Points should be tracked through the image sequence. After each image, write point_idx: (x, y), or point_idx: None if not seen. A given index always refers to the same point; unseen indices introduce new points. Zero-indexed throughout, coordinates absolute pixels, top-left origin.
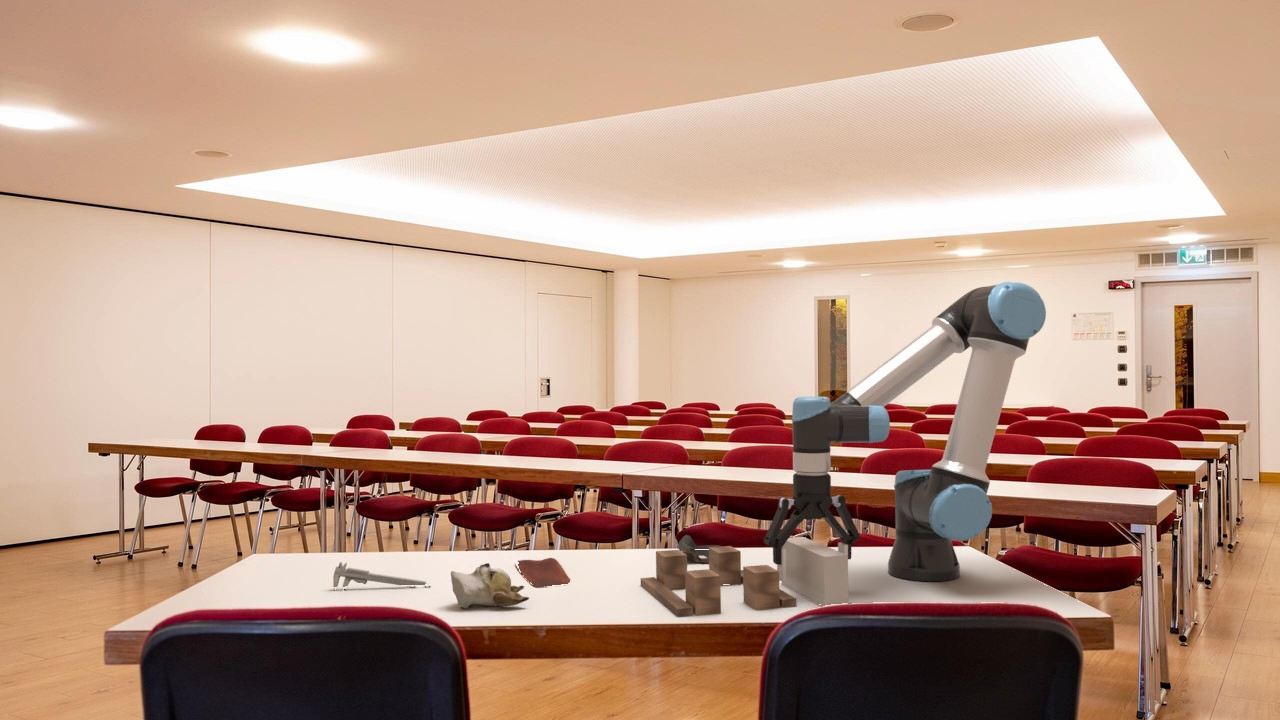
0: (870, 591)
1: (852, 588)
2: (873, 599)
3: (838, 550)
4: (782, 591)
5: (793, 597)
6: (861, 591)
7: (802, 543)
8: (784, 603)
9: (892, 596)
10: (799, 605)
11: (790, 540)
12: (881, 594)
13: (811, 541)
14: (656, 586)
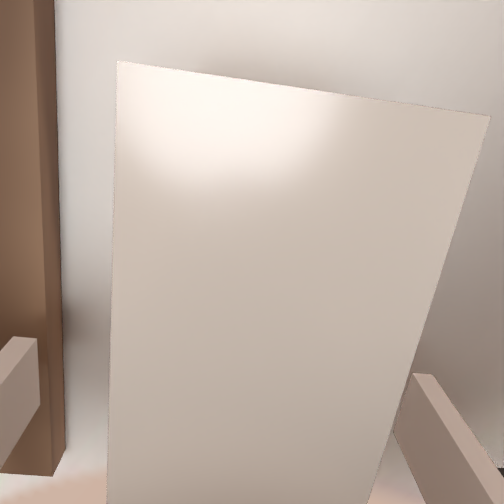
0: (493, 381)
1: (470, 310)
2: (404, 472)
3: (487, 499)
4: (40, 365)
5: (46, 462)
6: (461, 367)
7: (204, 472)
8: None
9: (499, 466)
10: (84, 441)
11: (166, 281)
12: (489, 431)
13: (360, 426)
14: None
